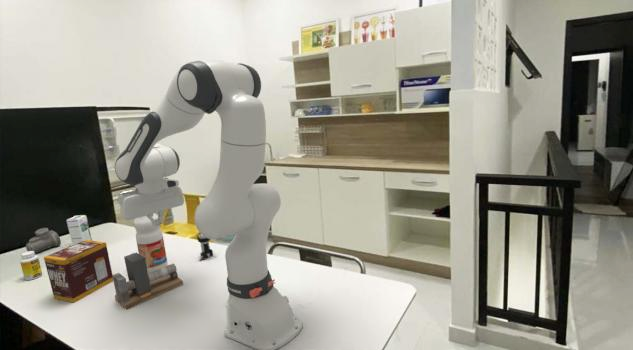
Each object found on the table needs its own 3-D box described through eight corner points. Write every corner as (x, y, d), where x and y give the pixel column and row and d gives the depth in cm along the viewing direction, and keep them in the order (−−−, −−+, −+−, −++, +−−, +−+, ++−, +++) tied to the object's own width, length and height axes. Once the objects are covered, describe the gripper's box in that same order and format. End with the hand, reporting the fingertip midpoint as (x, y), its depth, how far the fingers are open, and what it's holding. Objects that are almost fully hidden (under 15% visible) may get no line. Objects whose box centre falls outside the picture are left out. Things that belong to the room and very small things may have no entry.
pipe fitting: (54, 242, 172) (47, 224, 168) (63, 246, 168) (57, 227, 165) (26, 255, 162) (19, 235, 159) (35, 259, 159) (28, 239, 155)
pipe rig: (183, 284, 124) (179, 259, 122) (126, 309, 111) (121, 282, 109) (170, 276, 131) (166, 252, 129) (115, 299, 117) (110, 273, 115)
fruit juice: (149, 262, 143) (138, 197, 137) (172, 262, 143) (161, 196, 137) (137, 274, 134) (123, 204, 128) (160, 273, 134) (148, 203, 128)
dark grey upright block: (151, 290, 117) (144, 257, 115) (138, 296, 114) (132, 262, 112) (142, 284, 122) (136, 252, 119) (130, 289, 119) (124, 256, 117)
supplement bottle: (35, 280, 135) (29, 255, 133) (21, 281, 135) (14, 256, 133) (46, 273, 140) (40, 249, 138) (32, 274, 140) (25, 250, 138)
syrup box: (85, 248, 164) (78, 218, 161) (72, 248, 164) (66, 219, 161) (92, 243, 169) (86, 214, 166) (80, 243, 169) (74, 215, 166)
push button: (203, 262, 141) (200, 239, 138) (194, 259, 143) (191, 237, 141) (216, 255, 146) (213, 233, 144) (207, 253, 149) (204, 231, 147)
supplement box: (53, 298, 120) (42, 256, 117) (95, 277, 134) (86, 239, 131) (73, 303, 117) (63, 260, 113) (114, 280, 130) (106, 241, 127)
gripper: (120, 194, 108) (129, 236, 111) (182, 179, 122) (189, 217, 125) (113, 192, 112) (121, 232, 115) (174, 178, 127) (180, 214, 129)
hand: (157, 224), depth 120 cm, fingers closed
